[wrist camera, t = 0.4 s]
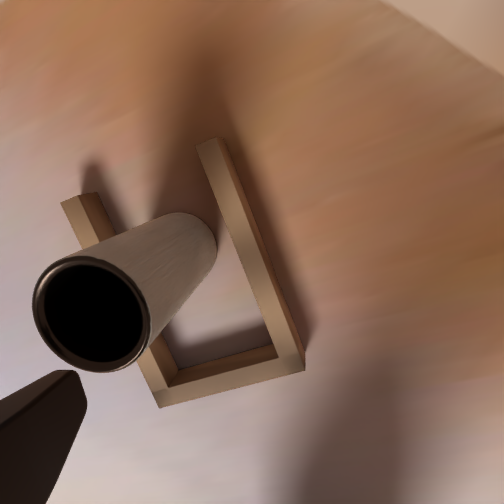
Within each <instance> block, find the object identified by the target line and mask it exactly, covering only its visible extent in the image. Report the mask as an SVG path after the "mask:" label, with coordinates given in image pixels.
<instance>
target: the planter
mask: <svg viewBox="0 0 504 504" xmlns="http://www.w3.org/2000/svg"><path fill="white" fill-rule="evenodd" d="M216 254H217V247H216V241H215V238H214V236H213V233H212V232H211V230H210V229H209V227H208V226H207V225H206V224H205V223H204V222H203V221H202V220H200V219H199V218H197V217H196V216H194V215H191V214H188V213H182V212H175V213H170V214H166V215H163V216H161V217H158V218H156V219H154V220H151V221H149V222H146V223H144V224H142V225H139V226H137V227H135V228H132V229H130V230H128V231H125V232H123V233H121V234H118V235H116V236H113V237H111V238H109V239H106V240H104V241H102V242H99V243H97V244H95V245H92V246H90V247H87V248H85V249H83V250H80V251H78V252H76V253H73V254H71V255H69V256H66V257H64V258H62V259H60V260H58V261H56V262H54V263H53V264H51V265H50V266H49V267H48V268H47V269H46V270H45V271H44V272H43V273H42V274H41V276H40V277H39V279H38V281H37V283H36V285H35V288H34V292H33V298H32V311H33V317H34V321H35V324H36V327H37V329H38V332H39V334H40V335H41V337H42V339H43V340H44V342H45V343H46V344H47V346H48V347H49V348H50V349H51V350H52V351H53V352H54V353H55V354H56V355H57V356H58V357H59V358H61V359H62V360H64V361H65V362H67V363H68V364H70V365H72V366H74V367H76V368H79V369H82V370H85V371H89V372H95V373H109V372H115V371H119V370H121V369H124V368H126V367H128V366H130V365H131V364H133V363H134V362H135V361H136V360H138V359H139V358H140V356H141V355H142V354H143V353H144V352H145V351H146V349H147V348H148V347H149V346H150V345H151V343H152V342H153V341H154V340H155V338H156V337H157V336H158V335H159V333H160V332H161V331H162V330H163V329H164V327H165V326H166V325H167V324H168V322H169V321H170V320H171V319H172V317H173V316H174V315H175V314H176V313H177V311H178V310H179V309H180V308H181V306H182V305H183V304H184V303H185V301H186V300H187V299H188V298H189V297H190V295H191V294H192V293H193V292H194V290H195V289H196V288H197V287H198V286H199V284H200V283H201V282H202V281H203V279H204V278H205V277H206V276H207V274H208V273H209V272H210V270H211V268H212V267H213V265H214V263H215V259H216Z"/></svg>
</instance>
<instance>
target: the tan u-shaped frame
mask: <svg viewBox="0 0 504 504" xmlns="http://www.w3.org/2000/svg"><path fill="white" fill-rule="evenodd" d="M195 148H196V150H197V153H198V155H199V158H200V160H201V163H202V165H203V168H204V170H205V173H206V175H207V178H208V180H209V183H210V185H211V188H212V190H213V193H214V195H215V198H216V200H217V203H218V205H219V208H220V210H221V213H222V216H223V218H224V221H225V223H226V226H227V228H228V231H229V233H230V236H231V238H232V241H233V243H234V246H235V248H236V251H237V253H238V256H239V258H240V261H241V263H242V266H243V268H244V271H245V273H246V276H247V278H248V281H249V283H250V286H251V289H252V291H253V294H254V296H255V299H256V301H257V304H258V306H259V309H260V311H261V314H262V316H263V319H264V321H265V324H266V326H267V329H268V331H269V334H270V336H271V339H272V341H273V344H270V345H267V346H263V347H260V348H256V349H253V350H249V351H246V352H242V353H238V354H235V355H231V356H228V357H224V358H221V359H217V360H214V361H210V362H206V363H203V364H199V365H196V366H192V367H189V368H185V369H181V370H178V368H177V366H176V364H175V361H174V359H173V357H172V355H171V353H170V351H169V348H168V346H167V344H166V342H165V340H164V338H163V335H162V333H161V332H160V333H159V335H158V336H157V337H156V338H155V340H154V341H153V342H152V343H151V345H150V346H149V347H148V348H147V349H146V351H145V352H144V353H143V354H142V355H141V356H140V358H139V359H138V360H136V361H137V363H138V365H139V367H140V369H141V372H142V374H143V376H144V378H145V380H146V382H147V384H148V386H149V388H150V390H151V392H152V394H153V396H154V399H155V401H156V403H157V405H158V407H159V408H163V407H166V406H170V405H174V404H178V403H182V402H186V401H189V400H193V399H197V398H201V397H205V396H209V395H213V394H216V393H220V392H224V391H228V390H232V389H236V388H240V387H243V386H247V385H251V384H255V383H259V382H263V381H266V380H270V379H274V378H278V377H282V376H286V375H290V374H293V373H297V372H301V371H305V351H304V348H303V345H302V343H301V340H300V338H299V335H298V332H297V330H296V327H295V324H294V322H293V319H292V317H291V314H290V311H289V309H288V306H287V303H286V301H285V298H284V296H283V293H282V290H281V288H280V285H279V282H278V280H277V277H276V275H275V272H274V269H273V267H272V264H271V261H270V259H269V256H268V254H267V251H266V248H265V246H264V243H263V240H262V238H261V235H260V233H259V230H258V227H257V225H256V222H255V219H254V217H253V214H252V212H251V209H250V206H249V204H248V201H247V198H246V196H245V193H244V191H243V188H242V185H241V183H240V180H239V177H238V175H237V172H236V169H235V167H234V164H233V162H232V159H231V156H230V154H229V151H228V148H227V146H226V143H225V141H224V139H223V138H218V137H215V138H212V139H210V140H207V141H205V142H203V143H200V144H198V145H196V146H195ZM60 204H61V206H62V208H63V210H64V212H65V214H66V216H67V218H68V220H69V222H70V224H71V226H72V228H73V230H74V233H75V235H76V237H77V239H78V241H79V243H80V245H81V247H82V249H85V248H87V247H90V246H92V245H95V244H97V243H99V242H102V241H104V240H106V239H109V238H111V237H113V236H116V233H115V231H114V229H113V227H112V224H111V222H110V220H109V218H108V216H107V214H106V211H105V209H104V207H103V205H102V203H101V201H100V198H99V196H98V194H97V192H94V193H89V194H83V195H77V196H75V197H73V198H70V199H68V200H66V201H63V202H61V203H60Z"/></svg>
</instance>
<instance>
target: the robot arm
mask: <svg viewBox="0 0 504 504" xmlns="http://www.w3.org/2000/svg"><path fill="white" fill-rule="evenodd" d="M86 410H87V398H86V395H85V392H84V389H83V386H82V383H81V380H80V377H79V375H78V373H77V372H76V371H74V370H56V371H53V372H51V373H49V374H47V375H46V376H44V377H42V378H40V379H38V380H36V381H35V382H33V383H31V384H29V385H27V386H25V387H24V388H22V389H20V390H18V391H16V392H14V393H13V394H11V395H9V396H7V397H5V398H3V399H2V400H0V504H46V502H47V500H48V498H49V496H50V494H51V492H52V490H53V488H54V486H55V484H56V482H57V480H58V478H59V475H60V473H61V471H62V468H63V466H64V464H65V461H66V459H67V456H68V454H69V452H70V449H71V447H72V445H73V442H74V440H75V438H76V435H77V433H78V431H79V428H80V426H81V423H82V421H83V419H84V416H85V414H86Z"/></svg>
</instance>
